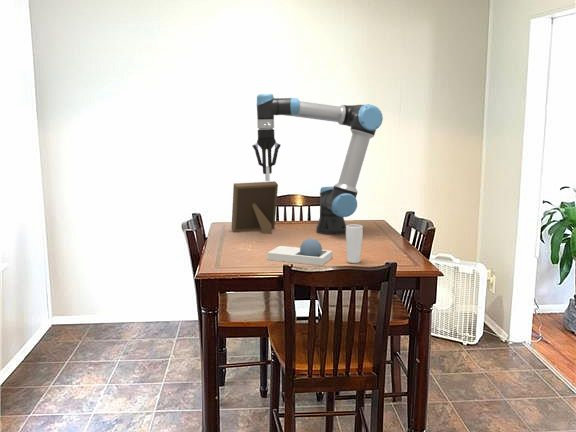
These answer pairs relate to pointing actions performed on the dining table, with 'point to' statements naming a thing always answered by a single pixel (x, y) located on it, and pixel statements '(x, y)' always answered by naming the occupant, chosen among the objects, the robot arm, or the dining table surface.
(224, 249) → the dining table surface
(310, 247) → the ball
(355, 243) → the drinking glass
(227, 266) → the dining table surface
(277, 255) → the white tray
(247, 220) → the photo frame
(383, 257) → the dining table surface
